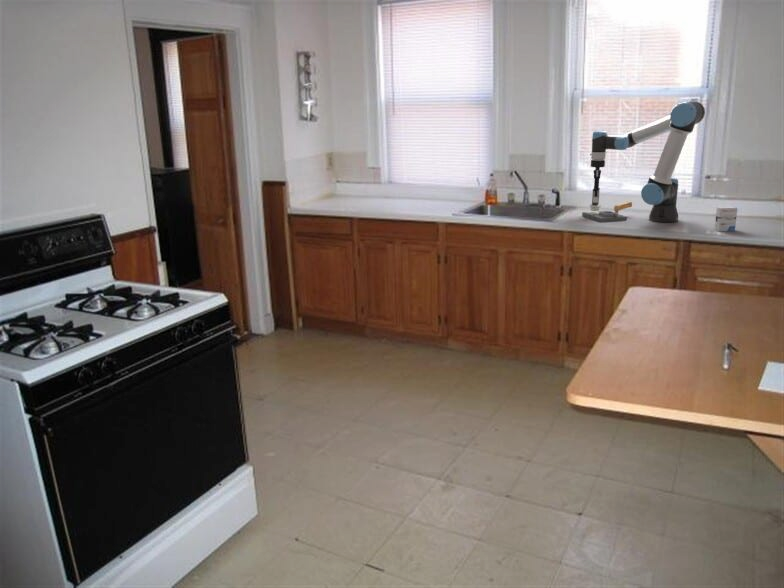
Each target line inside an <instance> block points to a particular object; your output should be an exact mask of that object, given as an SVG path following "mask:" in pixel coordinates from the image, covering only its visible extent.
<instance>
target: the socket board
mask: <svg viewBox="0 0 784 588" xmlns="http://www.w3.org/2000/svg"><path fill="white" fill-rule="evenodd" d="M581 213H582V214H581V216H582V217H584V218H587V219H589V220H592V221H596V222H598V223H607V222H620V221H627V216H625V215H624V214H623V215H622V214H621V213H620V214H619V211H611V210H600V211H583V212H581Z"/></svg>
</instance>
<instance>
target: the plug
mask: <svg viewBox="0 0 784 588" xmlns="http://www.w3.org/2000/svg"><path fill="white" fill-rule="evenodd" d="M593 190H594V188H593V189H592V198H591V204H589V208H590V212H594V211H599V210H600V208H601V207H602V206H601V204H599V202H600V190H601V188H600V189H599V190H598V191H599V193H598V203H593V193H594V191H593Z"/></svg>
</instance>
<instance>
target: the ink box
mask: <svg viewBox="0 0 784 588" xmlns="http://www.w3.org/2000/svg"><path fill="white" fill-rule="evenodd" d="M737 214H738V208H737V207H735V206H717V207H716V212H715V222H714V230H715V231H717V230H718V232H734V231H735V230H736V222H737Z"/></svg>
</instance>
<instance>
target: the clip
mask: <svg viewBox="0 0 784 588" xmlns="http://www.w3.org/2000/svg"><path fill="white" fill-rule="evenodd" d="M632 207H633V201H627V202H625V203H624V202H623V203H621V204H616V205H614V207H613V212H615V211H618V212H619V211H622V210H624V209H628V208H632Z"/></svg>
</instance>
